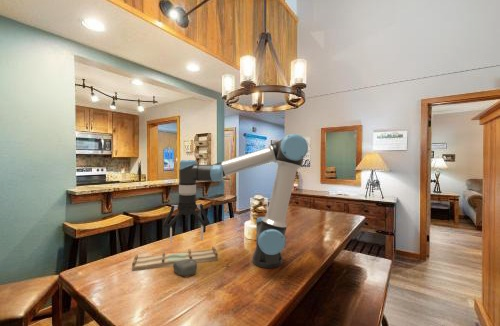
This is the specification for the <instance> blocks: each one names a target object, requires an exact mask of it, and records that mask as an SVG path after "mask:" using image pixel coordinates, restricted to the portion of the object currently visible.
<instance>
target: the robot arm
mask: <svg viewBox="0 0 500 326" xmlns="http://www.w3.org/2000/svg"><path fill="white" fill-rule="evenodd" d="M308 147H309V146H308V141H307V140H306V138H305V137H304V136H302V135H300V134H297V133H290V134H287V135H284V137H283V138H282V139H280V140H277V142H274V143H270V144H269V146H268V147H265V148H262V149H258V150H255V151H252V152H249V153H245V154H242V155H239V156H236V157H233V158H229V159H226V160H223V161H220V162H219V161H218V162H217V163H213V164H198V163H197V160H195V159H182V160H180V161H179V165H178V167H179V169H178V193H179V195H178V205H176V204H175V205H174V204H171V206H170V207H171V208H170V210H169V213H168V215H167V216H166V217H165V220H164V222H163V223H162V227H163V228H166V229H167V230H166V234H167V236H169V244H172V243H173V242H172V241H173V239H172V238H173V227H172V226H173V225H174V224H175V222H176V221H177V220H178V219H179V218H180V217H181V216H182V215H183V216H191V215H194V217H195V218H196V219H197V221H199V223H200V241H204V234H205V233H206V230H207V229H206V228H207V227H206V226H207V225H210V223H211V222H210V220H209V218H208V217H207V214H206V212H205V210H204V204H202V203H199V204H197V195H196V193H197V182H213V183H215V182H222V180H223V177H227V176H230V175H233V174H236V173H240V172H242V171H246V170H249V169H253V168H256V167H260V166H262V165H266V164H269V163H272V162H273V163H277V165H278V166H277V169H276V175H275V178H274V182H273V187H272V191H271V194H270V198H269V202H268V207H267V210H266V215H265V216H258V217H257V218H256V221H255V224H256V227H255V228H256V229H255V231H256V233H255V235H256V236H255V237H256V238H255V239H256V240H255V242H256V245H255V246H256V247H255V249H254V253H253V256H252V263H253V265H255V266H256V267H259V268H263V269H274V268H279V267H280V266H283V265H282V264H283V256H282V253H281V252H283V250H284V248H285V246H286V238H285V235H286V232H287V227H288V225H287V223H286V216H287V213H288V208H289V205H290V201H291V197H292V193H293V187H294V183H295V179H296V176H297V170H299V169H300V168H301V167H302V164H303V161H304V158H305V157H306V155H307V153H308V150H309V148H308ZM197 208H198V210H199V211H200V212H201V214H202V216H203V218H204V219H203V218H202V217H201V216H200V215H199V214H198V212H197V211H196V209H197ZM177 209H178V212H177V214H176V215H175V216H174V217H173V218H172V215H173V214H174V211H176V210H177ZM171 218H172V219H171ZM170 219H171V221H170ZM204 220H205V221H204Z"/></svg>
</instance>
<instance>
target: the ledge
mask: <svg viewBox="0 0 500 326" xmlns="http://www.w3.org/2000/svg"><path fill="white" fill-rule="evenodd" d="M218 255H219V253H218V252H217V249H216V248H215V246H212V248H211V249H204V250H194V251H193V250H191V248H189V249H188V250H187V251H186V252H184V251H183V252H175V253H169V254H168V253H167V254H166V251H162V254H158V255H157V254H156V255H148V256H139V255H138V254H135V255H134V258H133V260H132V263H131V265H132V266H131V267H132V269H131V272H135V271H144V270H152V269H153V270H154V269H161V268H167V267H173V265H174V263H175V262H177V261H180V260H186V259H194V260H195V261H196V262H197V264H201V263H207V262H208V263H210V262H216V261H218V257H219V256H218Z"/></svg>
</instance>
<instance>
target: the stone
mask: <svg viewBox="0 0 500 326" xmlns="http://www.w3.org/2000/svg"><path fill="white" fill-rule="evenodd" d="M172 268H173V271H174V273H176V274H177V275H179V276H181V277H184V278H185V277H190V276H194V275H195V274H196V272H197V270H198V263H197V262H196V261H195V260H194V259H186V260H180V261H177V262H175V263H174V265H173V266H172Z"/></svg>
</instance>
